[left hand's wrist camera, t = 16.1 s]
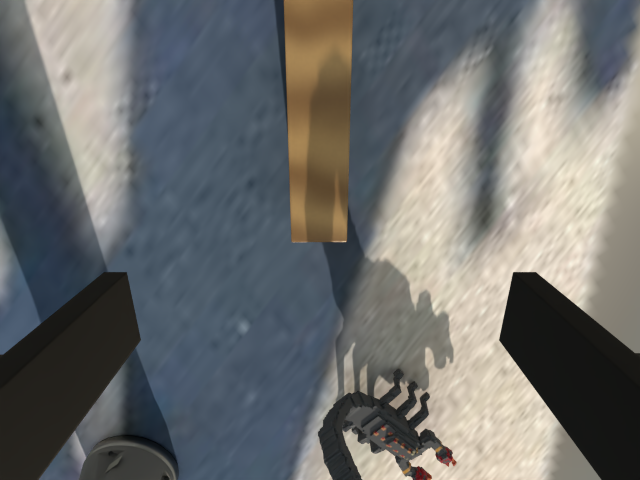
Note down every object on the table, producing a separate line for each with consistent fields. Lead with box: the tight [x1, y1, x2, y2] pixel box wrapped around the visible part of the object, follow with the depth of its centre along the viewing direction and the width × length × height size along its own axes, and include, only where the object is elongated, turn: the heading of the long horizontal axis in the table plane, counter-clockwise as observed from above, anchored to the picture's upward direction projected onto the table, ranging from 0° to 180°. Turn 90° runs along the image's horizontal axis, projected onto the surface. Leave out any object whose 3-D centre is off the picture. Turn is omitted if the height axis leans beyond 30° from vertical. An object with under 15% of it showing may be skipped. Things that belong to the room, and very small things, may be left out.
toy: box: [318, 369, 457, 480], centre depth 50 cm, size 13×27×18 cm, turn 46°
